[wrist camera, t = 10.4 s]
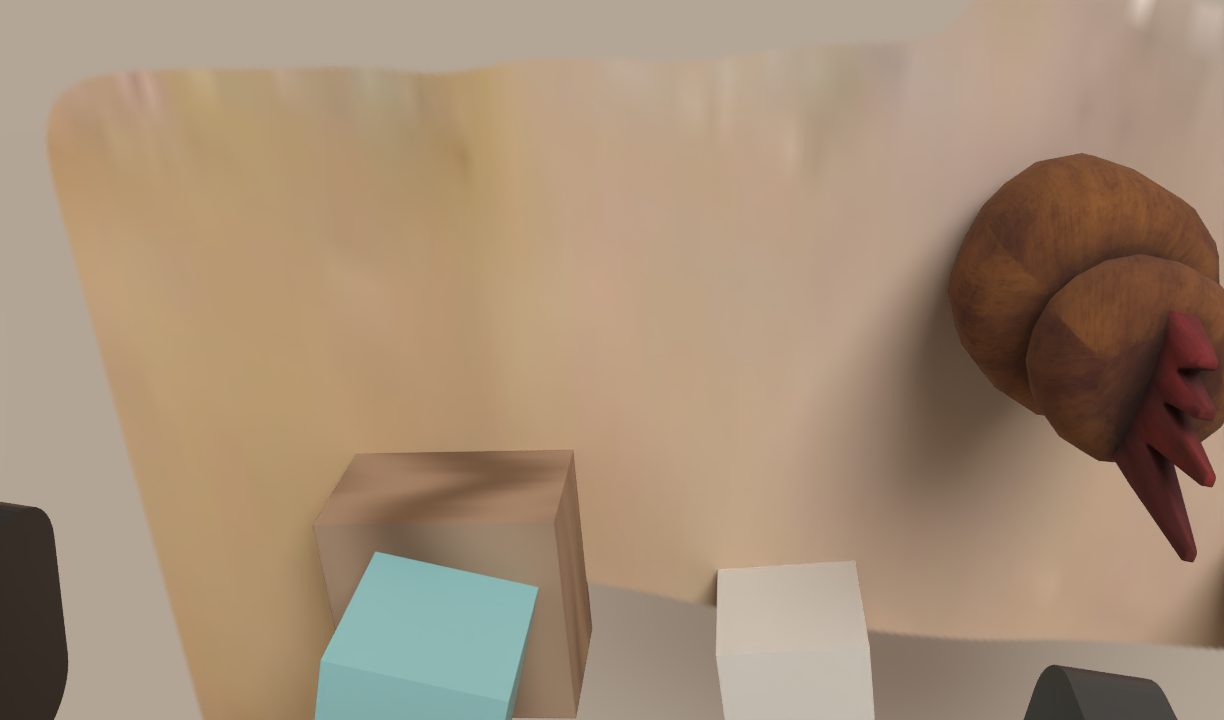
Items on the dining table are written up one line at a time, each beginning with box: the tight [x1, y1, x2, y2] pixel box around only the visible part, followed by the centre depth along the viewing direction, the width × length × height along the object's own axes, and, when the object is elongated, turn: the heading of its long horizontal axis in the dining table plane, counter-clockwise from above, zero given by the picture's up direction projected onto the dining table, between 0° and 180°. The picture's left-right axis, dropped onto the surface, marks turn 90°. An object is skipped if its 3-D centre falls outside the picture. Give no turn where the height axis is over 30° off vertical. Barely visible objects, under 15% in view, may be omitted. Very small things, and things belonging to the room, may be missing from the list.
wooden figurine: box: [948, 153, 1224, 562], centre depth 29 cm, size 7×6×15 cm
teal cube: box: [315, 552, 539, 720], centre depth 36 cm, size 6×6×6 cm
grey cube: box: [716, 560, 875, 720], centre depth 41 cm, size 5×5×5 cm
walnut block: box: [313, 450, 592, 718], centre depth 41 cm, size 8×8×5 cm
